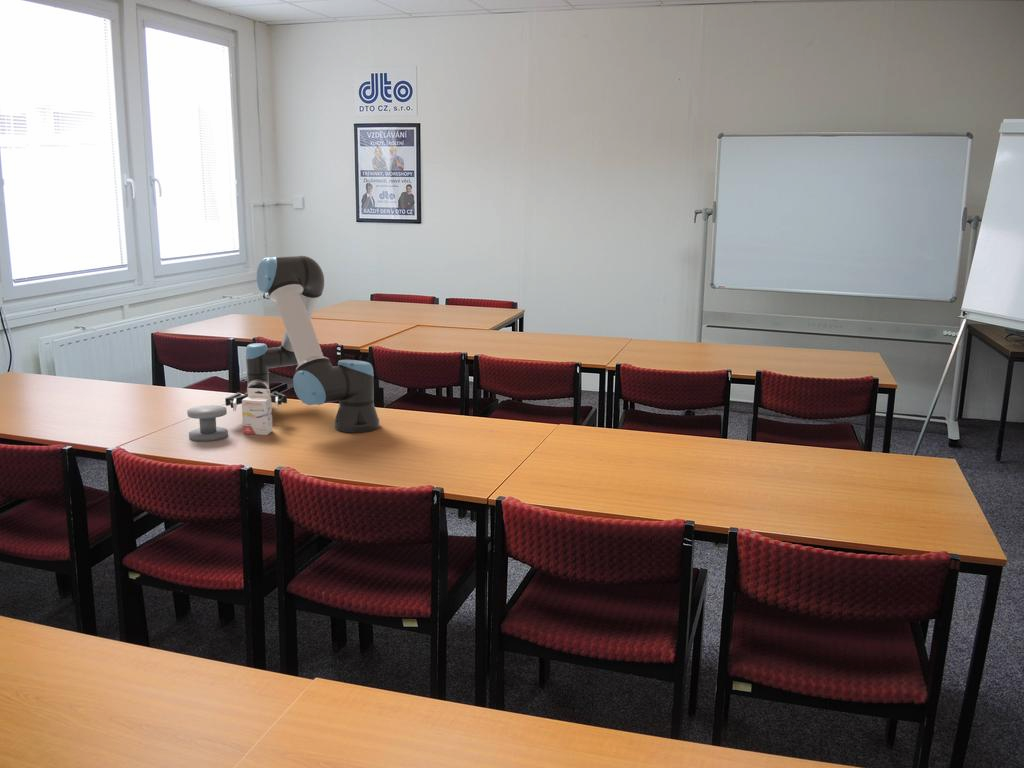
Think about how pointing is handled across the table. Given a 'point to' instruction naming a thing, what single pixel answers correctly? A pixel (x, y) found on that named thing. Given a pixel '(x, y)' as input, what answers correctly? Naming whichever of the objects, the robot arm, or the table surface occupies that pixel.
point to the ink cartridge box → (257, 412)
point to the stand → (207, 423)
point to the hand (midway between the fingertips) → (255, 405)
